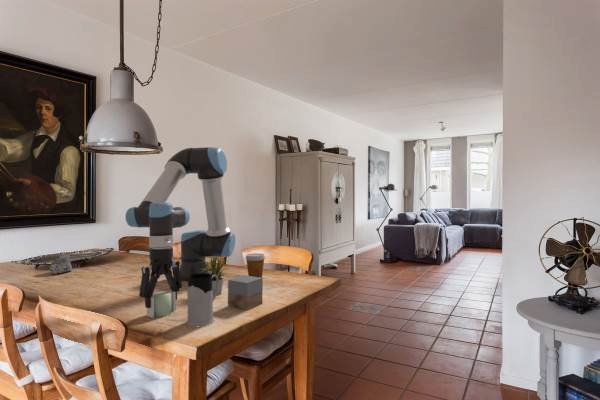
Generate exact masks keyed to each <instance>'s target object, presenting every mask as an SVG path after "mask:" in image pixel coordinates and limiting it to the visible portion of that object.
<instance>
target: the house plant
mask: <svg viewBox="0 0 600 400" xmlns="http://www.w3.org/2000/svg"><path fill="white" fill-rule="evenodd" d="M199 259H200V258H199ZM204 261H205V262H206V265H207V266H206V265H205V263H204V265H205V266H206V267H207V268H208V269H202V270H204V272H205V273H206V274H211V275H217V276H218V290H217V294H216V296H220V295H222V291H223V285H224V278H223V277H222V276H223V275H227V273H223V271H224V270H226V269H229V267H226V268H223V266H224V265H225V264H226V262H228V260H226V261H224V262H223V263H222V258H220V257H217V256H216V257H214V256H213V257H210V265H209V263H208V262H207V261H206V259H205V260H204ZM202 263H203V262H202ZM221 263H222V264H221ZM222 268H223V269H222ZM199 269H200V268H199ZM205 270H208V271H209V272H208V271H205ZM201 272H203V271H201ZM207 272H208V273H207ZM212 290H213V296H214V294H215V290H216V276H214V277H213V278H212Z"/></svg>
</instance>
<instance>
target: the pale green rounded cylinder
mask: <svg viewBox="0 0 600 400" xmlns="http://www.w3.org/2000/svg"><path fill="white" fill-rule="evenodd" d="M152 298H154V316H156V317H155V318H162V317H161V316H165V317H168V316H171V314H172V310H171V292H169V291H164V290H163V291H157V292H153V295H152ZM167 315H168V316H167ZM157 316H159V317H157Z"/></svg>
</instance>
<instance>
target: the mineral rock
mask: <svg viewBox="0 0 600 400" xmlns="http://www.w3.org/2000/svg"><path fill="white" fill-rule="evenodd" d="M72 266H73V265H72V264H71V254H64V253H61V254H60V255H59V257H58V258H56V259H55V260H54V261H53V262H52V263H51V264H50V266H49V270H50V271H49V272H50V273H52V274H58V273H59V274H64V273H67V272H72V271H73V268H72Z"/></svg>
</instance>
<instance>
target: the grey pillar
mask: <svg viewBox="0 0 600 400" xmlns="http://www.w3.org/2000/svg"><path fill="white" fill-rule="evenodd" d="M214 276H216V290H215V294H214V296H213V290H212V278H213V277H214ZM217 290H218V276H217V275H211V274H206V273H201V274H193V275H189V276H188V281H187V321H186V324H187V325H188V326H187V325H186V326H187V327H190V326H193V327H192V328H196V327H195V326H204V327H207V326H206V325H208V326H210V325H209V324H211V325H212V323H213V322H215V319H214V308H213V307H214V305H213V303H214V300H215V299H216V294H217ZM213 324H214V323H213Z"/></svg>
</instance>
